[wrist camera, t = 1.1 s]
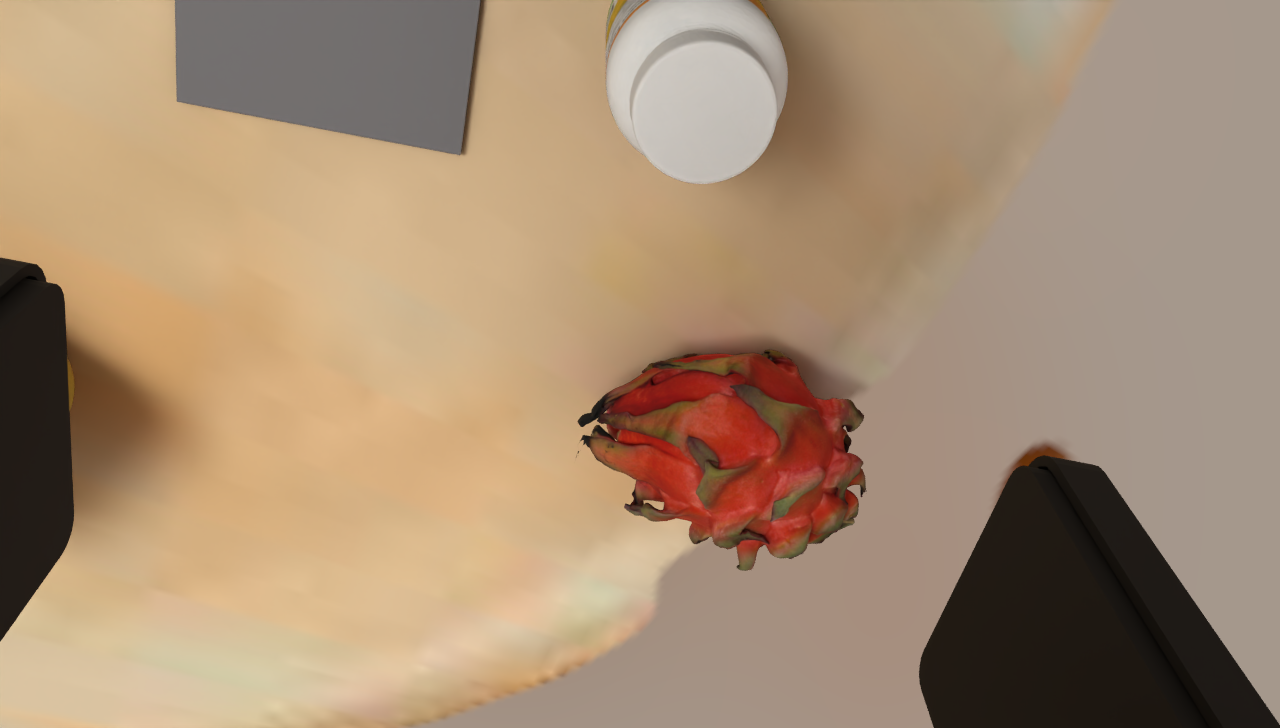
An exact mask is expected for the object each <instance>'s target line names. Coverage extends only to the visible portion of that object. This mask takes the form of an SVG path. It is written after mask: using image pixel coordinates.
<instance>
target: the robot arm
mask: <svg viewBox="0 0 1280 728" xmlns="http://www.w3.org/2000/svg"><path fill="white" fill-rule="evenodd" d="M73 521H74V503H73V480H72V457H71V435H70V412H69V389H68V366H67V344H66V321H65V301H64V294H63V292H62V289H61V287H59V286H58V285H57V284H53V283H48V282H46V278H45V275H44V273H43V271H42V269H41V268H40V267H39V266H38V265H37V264H31V263H26V262H21V261H16V260H10V259H5V258H0V641H1V640H2V639H3V637H4V636H5V634H6V633H7V631H8V630H9V629H10V627H11V626H12V624H13V623H14V622H15V620H16V619H17V617H18V616H19V614H20V613H21V612H22V610H23V609H24V607H25V606H26V605H27V603H28V602H29V600H30V599H31V597H32V596H33V595H34V593H35V592H36V590H37V589H38V588H39V586H40V585H41V583H42V582H43V580H44V579H45V578H46V576H47V575H48V573H49V572H50V571H51V569H52V568H53V566H54V565H55V563H56V562H57V561H58V559H59V558H60V556H61V555H62V553H63V551H64V550H65V548H66V546H67V543H68V541H69V538H70V535H71V531H72V527H73ZM919 678H920V685H921V690H922V693H923V696H924V699H925V702H926V705H927V708H928V711H929V714H930V717H931V720H932V723H933V727H934V728H1280V725H1279V723H1278V722H1277V720H1276V719H1275V717H1274V716H1273V715H1272V713H1271V712H1270V710H1269V709H1268V707H1266V704H1265V703H1264V702H1263V700H1262V699H1261V697H1260V696H1259V694H1258V693H1257V692H1256V690H1255V689H1254V687H1253V686H1252V684H1251V683H1250V681H1249V680H1248V679H1247V677H1246V676H1245V674H1244V673H1243V671H1242V670H1241V668H1240V667H1239V666H1238V664H1237V663H1236V661H1235V660H1234V658H1233V657H1232V655H1231V654H1230V653H1229V651H1228V650H1227V648H1226V647H1225V645H1224V644H1223V643H1222V641H1221V640H1220V638H1219V637H1218V635H1217V634H1216V632H1215V631H1214V629H1213V628H1212V627H1211V625H1210V624H1209V622H1208V621H1207V619H1206V618H1205V616H1204V615H1203V614H1202V612H1201V611H1200V609H1199V608H1198V606H1197V605H1196V603H1195V602H1194V601H1193V599H1192V598H1191V596H1190V595H1189V593H1188V592H1187V590H1186V589H1185V588H1184V586H1183V585H1182V583H1181V582H1180V580H1179V579H1178V577H1177V576H1176V575H1175V573H1174V572H1173V570H1172V569H1171V567H1170V566H1169V564H1168V563H1167V562H1166V560H1165V559H1164V557H1163V556H1162V554H1161V553H1160V552H1159V550H1158V549H1157V547H1156V546H1155V544H1154V543H1153V541H1152V540H1151V538H1150V537H1149V536H1148V534H1147V533H1146V531H1145V530H1144V529H1143V527H1142V525H1141V524H1140V523H1139V521H1138V520H1137V518H1136V517H1135V515H1134V514H1133V513H1132V511H1131V510H1130V508H1129V507H1128V505H1127V504H1126V502H1125V501H1124V499H1123V498H1122V497H1121V495H1120V494H1119V492H1118V491H1117V489H1116V488H1115V487H1114V485H1113V484H1112V482H1111V481H1110V479H1109V478H1108V477H1107V475H1106V473H1105V472H1104V471H1103V470H1102V469H1101V468H1100V467H1099V466H1095V465H1092V464H1086V463H1081V462H1076V461H1071V460H1065V459H1060V458H1055V457H1050V456H1040V457H1037V458H1036V459H1035V460H1034V461H1032V462H1031V463H1030V465H1029V466H1020V467H1018V468H1017V469H1016V470H1014V471H1013V473H1012V474H1011V476H1010V478H1009V479H1008V481H1007V483H1006V485H1005V487H1004V489H1003V492H1002V494H1001V496H1000V498H999V500H998V502H997V504H996V506H995V508H994V510H993V512H992V514H991V516H990V518H989V520H988V522H987V524H986V526H985V528H984V530H983V532H982V534H981V536H980V538H979V540H978V542H977V544H976V546H975V548H974V550H973V552H972V554H971V556H970V558H969V560H968V562H967V564H966V566H965V568H964V571H963V572H962V574H961V577H960V578H959V580H958V582H957V584H956V586H955V588H954V590H953V592H952V595H951V597H950V599H949V601H948V603H947V605H946V607H945V609H944V611H943V613H942V615H941V617H940V619H939V621H938V623H937V625H936V627H935V629H934V631H933V633H932V635H931V637H930V639H929V641H928V643H927V645H926V647H925V649H924V652H923V654H922V657H921V662H920V670H919Z"/></svg>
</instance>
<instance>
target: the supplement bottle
mask: <svg viewBox="0 0 1280 728" xmlns="http://www.w3.org/2000/svg"><path fill="white" fill-rule="evenodd" d="M787 86H788V67H787V61H786V56H785V52H784V49H783V46H782V43H781V40H780V38H779V35H778V33H777V31H776V29H775V27H774V26H773V24H772V22H771V20H770V19H769V17H768V15H767V13H766V11H765V10H764V8H763V6H762V4H761V2H760V1H759V0H612V3H611V6H610V9H609V13H608V18H607V23H606V90H607V97H608V102H609V106H610V109H611V112H612V115H613V117H614V119H615V122H616V124H617V126H618V128H619V129H620V131H621V133H622V134H623V136H624V137H625V138H626V139H627V140H628V142H629V143H630V144H631V145H632V146H633V147H634V148H635V149H636V150H637V151H639V152H640V153H641V154H642V155H644V156H645V157H646V158H647V159H648V160H649V161H650V162H651V163H652V164H653V165H654V166H655V167H656V168H657V169H659V170H660V171H661V172H663V173H664V174H666V175H668V176H670V177H672V178H674V179H677V180H679V181H683V182H687V183H693V184H709V183H716V182H721V181H724V180H727V179H730V178H732V177H734V176H736V175H738V174H740V173H742V172H743V171H745V170H746V169H747V168H749V167H750V166H751V165H752V164H753V163H755V162H756V161H757V160H758V159H759V157H760V156H761V155H762V153H763V152H764V151H765V149H766V148H767V146H768V144H769V142H770V140H771V138H772V136H773V133H774V130H775V127H776V122H777V120H778V118H779V116H780V114H781V112H782V109H783V106H784V102H785V98H786V94H787Z"/></svg>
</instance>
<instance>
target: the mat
mask: <svg viewBox="0 0 1280 728" xmlns="http://www.w3.org/2000/svg"><path fill="white" fill-rule="evenodd" d="M480 4H481V0H175V27H176V85H177V102H182V103H187V104H192V105H198V106H203V107H208V108H214V109H219V110H224V111H229V112H235V113H240V114H245V115H251V116H256V117H261V118H266V119H272V120H277V121H282V122H288V123H293V124H298V125H303V126H309V127H314V128H319V129H325V130H330V131H335V132H340V133H346V134H351V135H356V136H361V137H367V138H372V139H377V140H383V141H388V142H393V143H398V144H404V145H409V146H414V147H420V148H425V149H430V150H435V151H441V152H446V153H451V154H457V155H460V154H461V151H462V144H463V136H464V128H465V121H466V113H467V105H468V97H469V90H470V82H471V74H472V66H473V59H474V51H475V43H476V35H477V28H478V20H479V12H480Z"/></svg>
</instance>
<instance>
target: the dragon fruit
mask: <svg viewBox="0 0 1280 728" xmlns="http://www.w3.org/2000/svg"><path fill="white" fill-rule="evenodd" d="M642 373H643V374H642V375H640V376H639V377H637V378H636V379H634V380H633V381H631V382H629V383H627V384H625V385H623V386H620V387H618V388H615V389H614V390H612V391H610V392H608V393H607V394H606V395H604V396H603V397H602V398H601V399H600V400H599V401H598V402H597V403H596V405H595V406H594V407H593V408H592V413H587V414H584V415H582V416H581V417H580V419H579V420H578V423H579V425H580V426H581V427H584V426H585V425H586V424H589V423H591V422H592V421H594V420H596V419H597V418H598V420H597V421H598V422H599V423H601V424H604V423H605V424H607V429H608V432H609V434H608V433H607V432H606V431H605V430H604V429H603V428H602V427H601V426H600V425H596V426H595V427H594V429H593V431H592V434H591V436H587V435H586V436H585V435H583V436H582V439H581V440H584V444H585V443H586V445H587V447H589V448H590V449H591V451H592V453H593V454H594V456H595V458H596V459H597V460H598V461H600V462H602V463H603V464H604V465H606V466H608V467H609V468H611V469H613V470H616V471H619V472H622V473H624V474H627V475H629V476H630V477H632V478H633V479H636V484H635V490H634V492H633V493H632V496H633V497H634V500H633V502H632V503H631V504H630V505H629V504H625V506H624V508H625V509H626V510H628V511H629V512H631V513H632V514H634V515H636V516H637V515H638V516H639V515H640V516H644V517H646V518H647V519H648V520H650V521H656V522H657V521H668V520H672V519H675V518H678V519H683V520H688V521H691V522H692V524H691V526H690V529H689V537H690V539H691V541H692V542H693V543H694V544H698V543H700V542H702V541H705V540H707V539H708V538H709V537H712V538H713V542H714V544H715V545H717V546H719V547H720V548H726V549H731V548H733V547H735V546H736V547H737V553H738V559H739V565H738V566H737V568H738V569H739V570H745V571H746V570H751V569H752V568H753V566H754V563H755V560H756V555H757V551H758V549H759V548H760V547H762V546H763V545H766V546H767V548H768V550H769V552H770V553H771V554H772V555H773V556H775V557H777V558H789V559H792V558H794V557H796V556H798V555H800V554H802V553H803V552H804V551H805V550H806V548H807V544H812V543H813V544H814V543H815V544H816V543H822V542H823V541H824V540H825V539H826V538H828V537H829V536H830V535H831V534H833V533H834V532H837V531H838V530H840V529H842V528H844V527H846V526H849V525H853V524H854V519H853V518H855V517H856V516H857V514H858V507H859V503H858V499H857V497H856V496H855V495H854V494H853V493H852V492H851V491H849V490H847V487H849V486H851V485H860V487H861V497H862V494H863V492H865V490H866V488H865V475H864V472H863V470H862V469H861V466H862V465H863V461H862V460H861V459H860V458H859V457H858V456H856V455H854V454H851V453H847V452H848V449H849V446H850V445H851V439H850V437H849V436H848V434H847V432H846V430H844V429H843V427H844V426H846V429H847V431H848V432H851V431H854V430H855V429H856V428H858V427H859V426H860V424H861V422H862V421H863V419H864V415H863V414H862V413H861V412H860V411H859V410H858V409H857V408H856V407H855V405H854V403H853V402H852V401H851V400H849V399H836V398H832V399H830V400H822V399H817V398H814V396H813V395H812V393H811V392H810V391H809V389H808V388H807V387H806V385H805V383H804V382H803V380H802V378H801V376H800V374H799V371H798V367H797V366H796V365H795V364H794V363H793V362H792V360H791V359H789V358H788V357H786V356H784V354H782V353H781V352H778V351H774V350H765V351H764V354H763V355H760V354H756V353H746V354H739V355H729V354H708V355H700V356H697V354H688V355H685V356H683V357H680V358H673V359H669V360H666V361H660V362H657V363H651V364H649V366H648V367H647V368H646V369H644V370H643V371H642ZM606 410H607V413H604V412H605V411H606ZM603 413H604V414H603ZM615 439H616V440H617V441H615ZM581 440H580V441H581ZM578 453H579V452H578ZM578 453H577V454H578ZM576 456H577V455H576ZM643 500H653V501H659V502H664V509H663V510H658V509H656V508H654V507H653V506H652V505H651V504H649V503H645V504H644V502H643Z"/></svg>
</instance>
